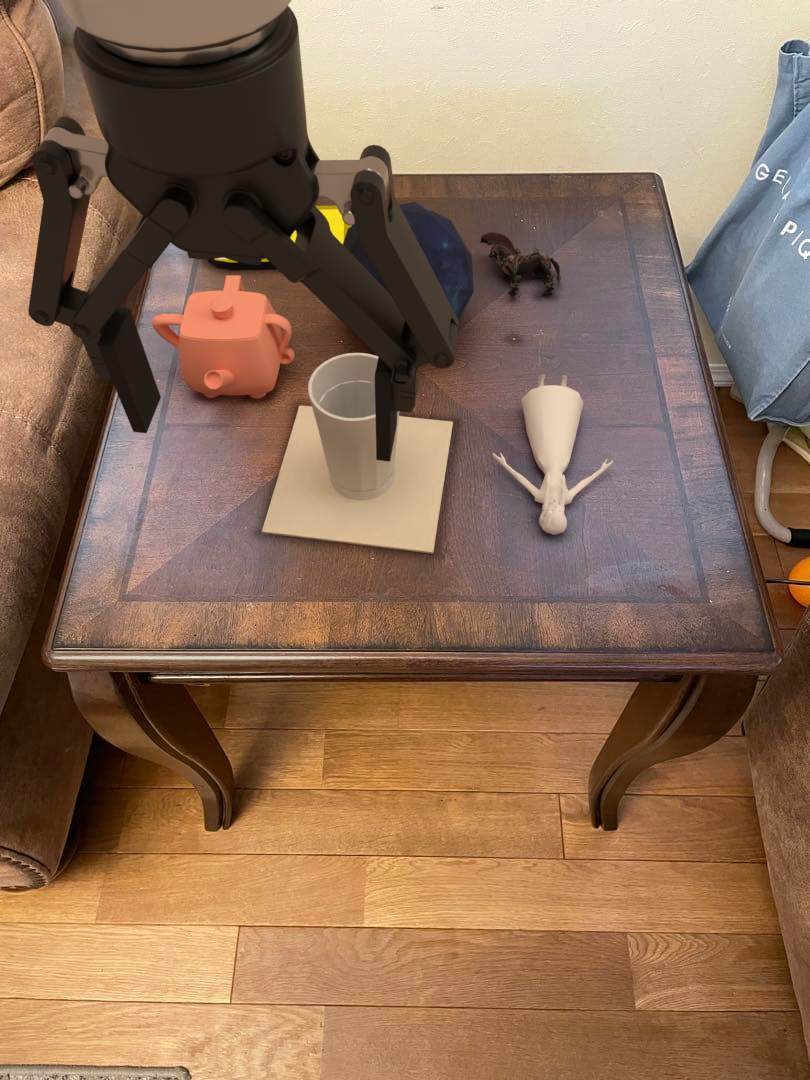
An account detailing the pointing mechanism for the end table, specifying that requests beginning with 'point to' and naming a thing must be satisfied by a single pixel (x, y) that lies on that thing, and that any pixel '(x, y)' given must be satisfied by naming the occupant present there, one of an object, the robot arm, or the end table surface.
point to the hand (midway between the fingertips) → (266, 428)
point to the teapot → (228, 341)
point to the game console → (335, 225)
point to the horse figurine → (520, 262)
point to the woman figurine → (552, 448)
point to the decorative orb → (431, 253)
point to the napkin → (379, 522)
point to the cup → (350, 425)
